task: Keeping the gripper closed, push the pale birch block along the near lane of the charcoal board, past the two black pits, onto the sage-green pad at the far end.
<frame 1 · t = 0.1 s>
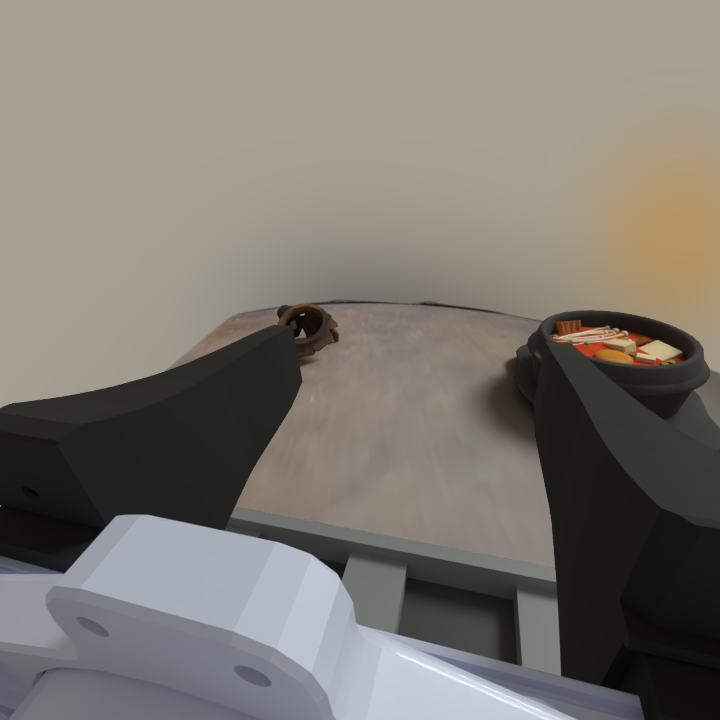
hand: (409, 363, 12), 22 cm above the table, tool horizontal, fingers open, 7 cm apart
casserole: (597, 402, 48), on the table
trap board: (365, 711, 22), on the table
pottery mug: (307, 350, 63), on the table
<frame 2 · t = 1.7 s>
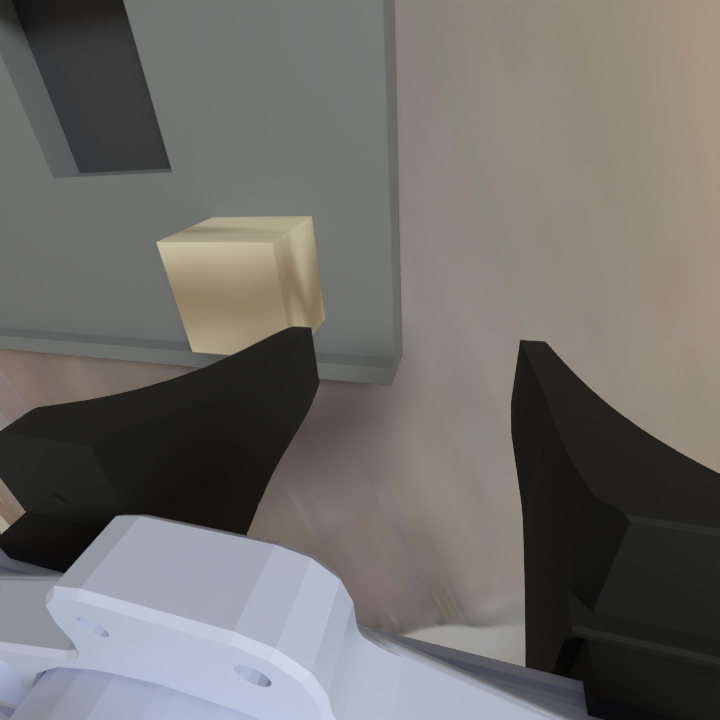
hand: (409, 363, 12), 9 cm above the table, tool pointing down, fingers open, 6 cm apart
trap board: (78, 192, 23), on the table
birch block: (270, 269, 20), point 2 cm above the table, touching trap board
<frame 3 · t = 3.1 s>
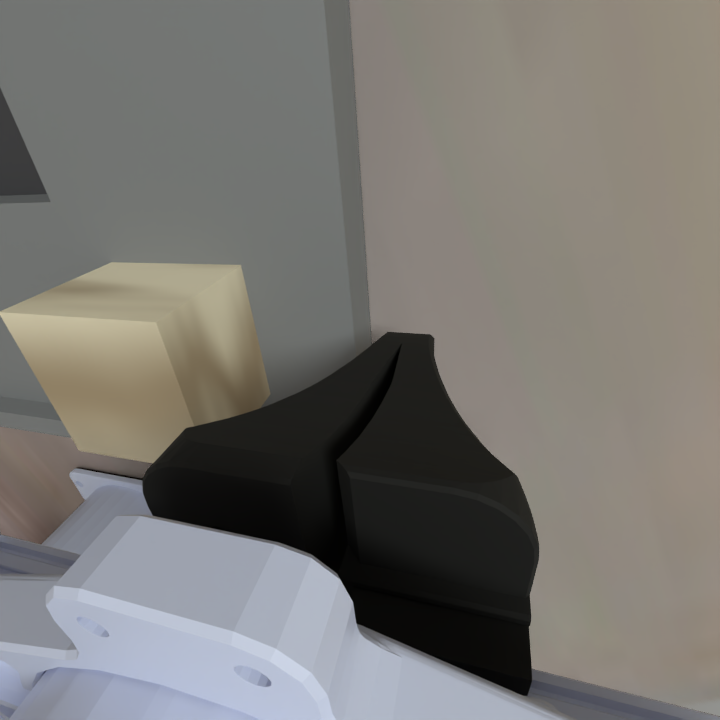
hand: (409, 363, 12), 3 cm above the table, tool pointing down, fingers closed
birch block: (194, 331, 15), point 2 cm above the table, touching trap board
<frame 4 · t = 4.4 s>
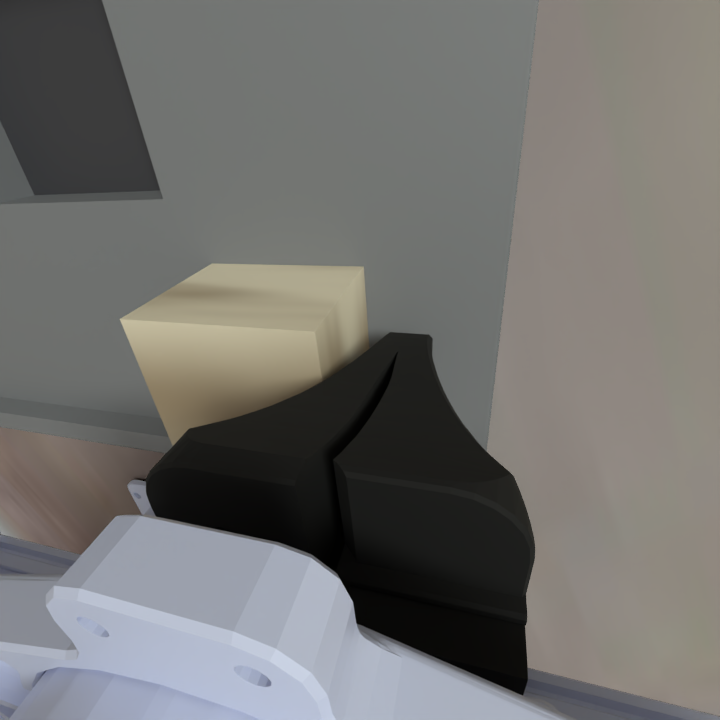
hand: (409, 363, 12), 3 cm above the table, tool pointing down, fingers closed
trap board: (36, 220, 17), on the table
birch block: (296, 337, 14), point 2 cm above the table, touching gripper
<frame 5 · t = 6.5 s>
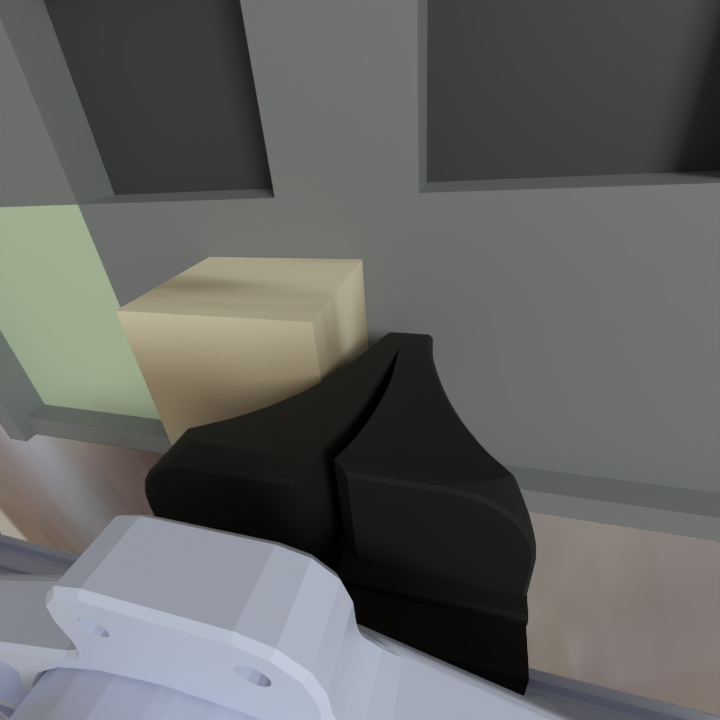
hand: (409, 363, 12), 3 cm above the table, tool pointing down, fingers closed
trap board: (395, 215, 13), on the table
birch block: (294, 331, 14), point 2 cm above the table, touching gripper
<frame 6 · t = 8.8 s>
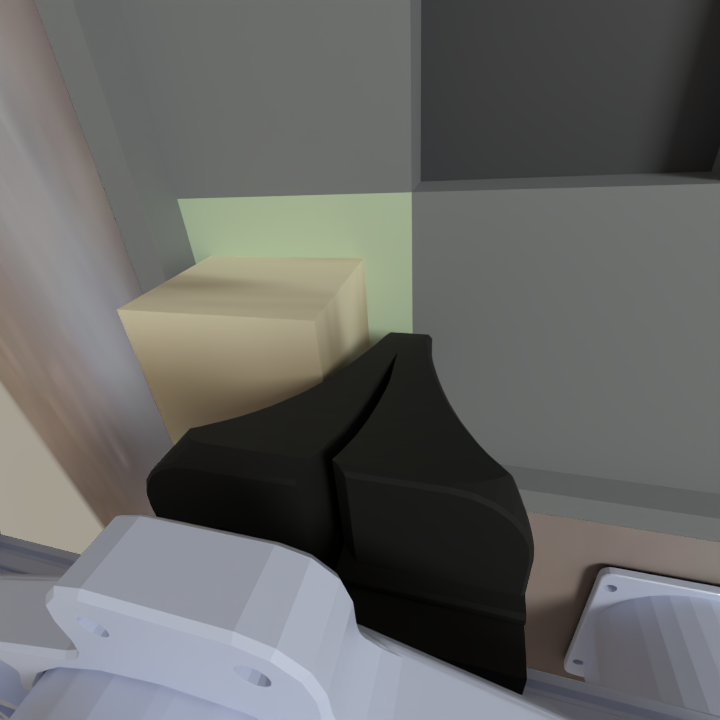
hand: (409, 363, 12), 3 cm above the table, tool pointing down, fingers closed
birch block: (295, 331, 14), point 2 cm above the table, touching gripper, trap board
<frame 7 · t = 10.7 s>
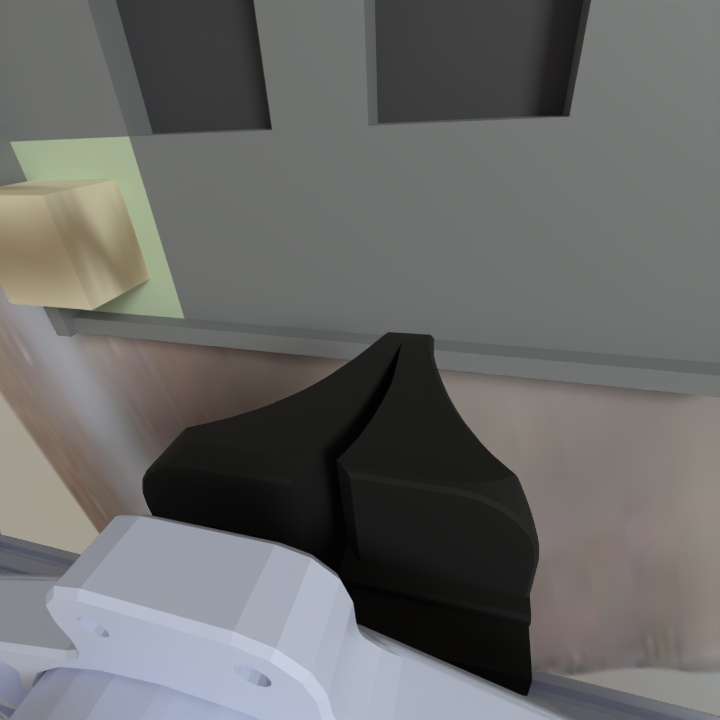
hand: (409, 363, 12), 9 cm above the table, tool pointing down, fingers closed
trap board: (358, 150, 18), on the table
birch block: (94, 230, 22), point 2 cm above the table, touching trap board
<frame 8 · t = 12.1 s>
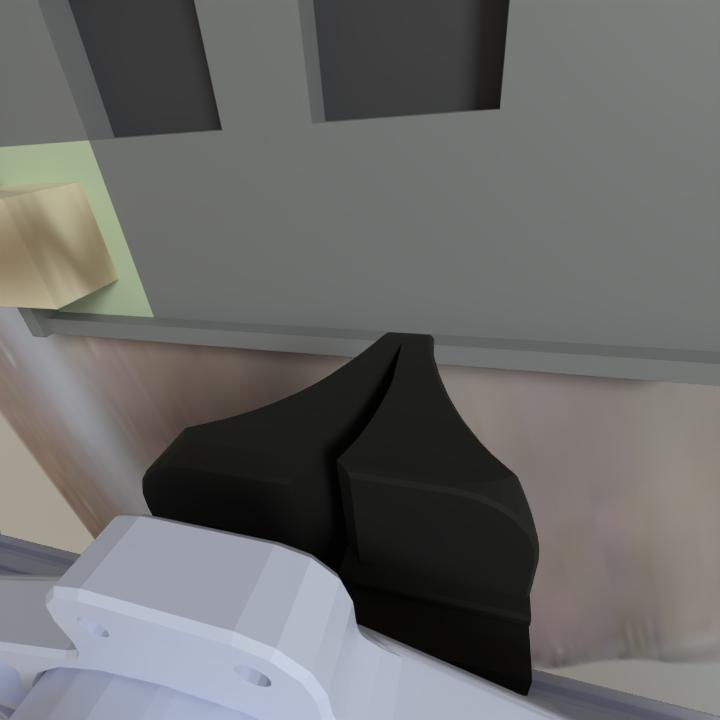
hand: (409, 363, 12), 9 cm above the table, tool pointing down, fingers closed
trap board: (309, 148, 19), on the table
birch block: (63, 233, 22), point 2 cm above the table, touching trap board
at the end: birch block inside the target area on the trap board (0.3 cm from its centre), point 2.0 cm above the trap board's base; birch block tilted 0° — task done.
